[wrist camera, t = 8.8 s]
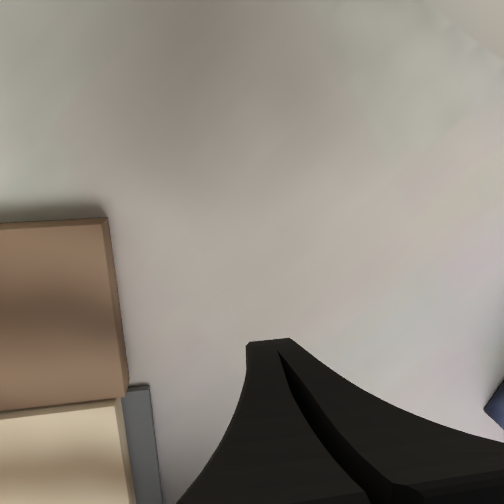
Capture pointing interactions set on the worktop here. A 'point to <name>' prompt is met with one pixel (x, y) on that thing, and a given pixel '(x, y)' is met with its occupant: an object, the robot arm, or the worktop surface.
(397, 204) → the worktop surface
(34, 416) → the birch coaster
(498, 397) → the small box
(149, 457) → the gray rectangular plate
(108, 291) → the panel
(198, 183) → the worktop surface
